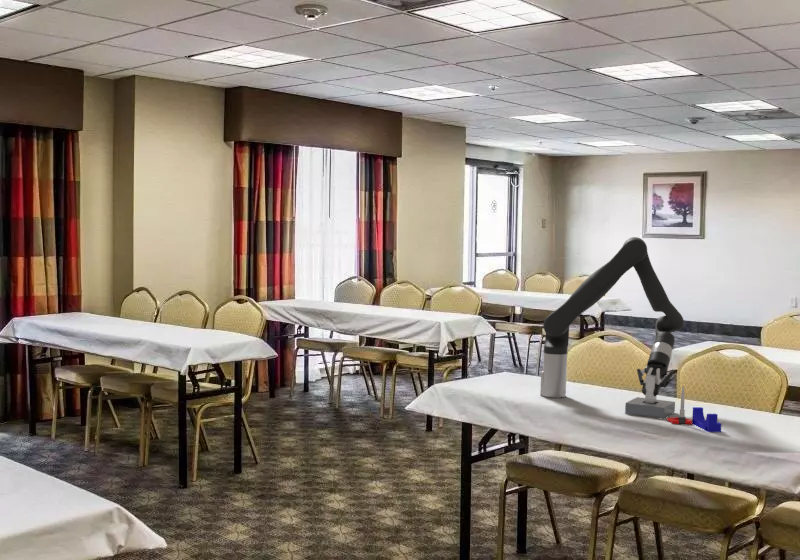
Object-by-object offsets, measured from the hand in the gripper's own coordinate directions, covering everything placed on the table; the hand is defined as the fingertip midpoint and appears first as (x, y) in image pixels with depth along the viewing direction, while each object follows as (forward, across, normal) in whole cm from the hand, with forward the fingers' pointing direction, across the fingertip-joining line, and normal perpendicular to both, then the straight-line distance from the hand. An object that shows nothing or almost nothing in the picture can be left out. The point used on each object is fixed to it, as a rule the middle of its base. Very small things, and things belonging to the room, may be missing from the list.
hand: (649, 394), depth 315 cm
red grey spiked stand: (+10, +13, +1) cm, 16 cm away
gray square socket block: (+4, 0, +7) cm, 8 cm away
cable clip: (+13, +22, -2) cm, 26 cm away
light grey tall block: (+2, 0, +5) cm, 5 cm away
